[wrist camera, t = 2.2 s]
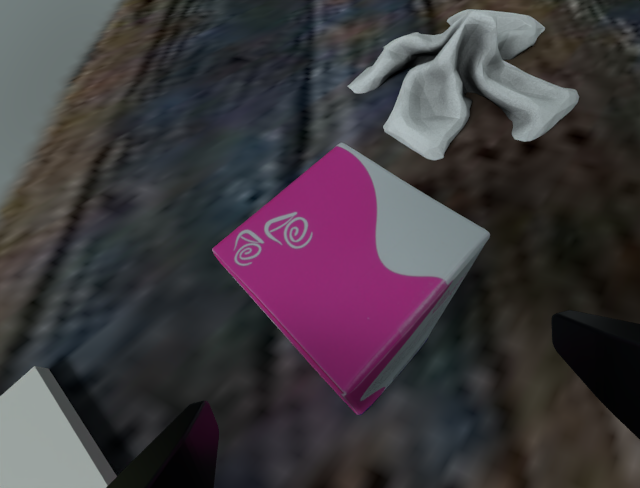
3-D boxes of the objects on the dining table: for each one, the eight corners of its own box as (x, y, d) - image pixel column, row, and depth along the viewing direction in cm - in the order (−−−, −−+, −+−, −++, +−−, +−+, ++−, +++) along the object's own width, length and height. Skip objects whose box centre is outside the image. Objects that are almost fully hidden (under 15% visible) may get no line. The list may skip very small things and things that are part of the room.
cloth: (516, 7, 34) (545, -72, 29) (631, 128, 25) (706, 46, 19) (305, 52, 34) (294, -18, 29) (341, 189, 25) (336, 124, 20)
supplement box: (352, 272, 21) (344, 132, 11) (429, 339, 18) (509, 236, 8) (284, 338, 19) (203, 245, 9) (359, 420, 17) (355, 412, 7)
